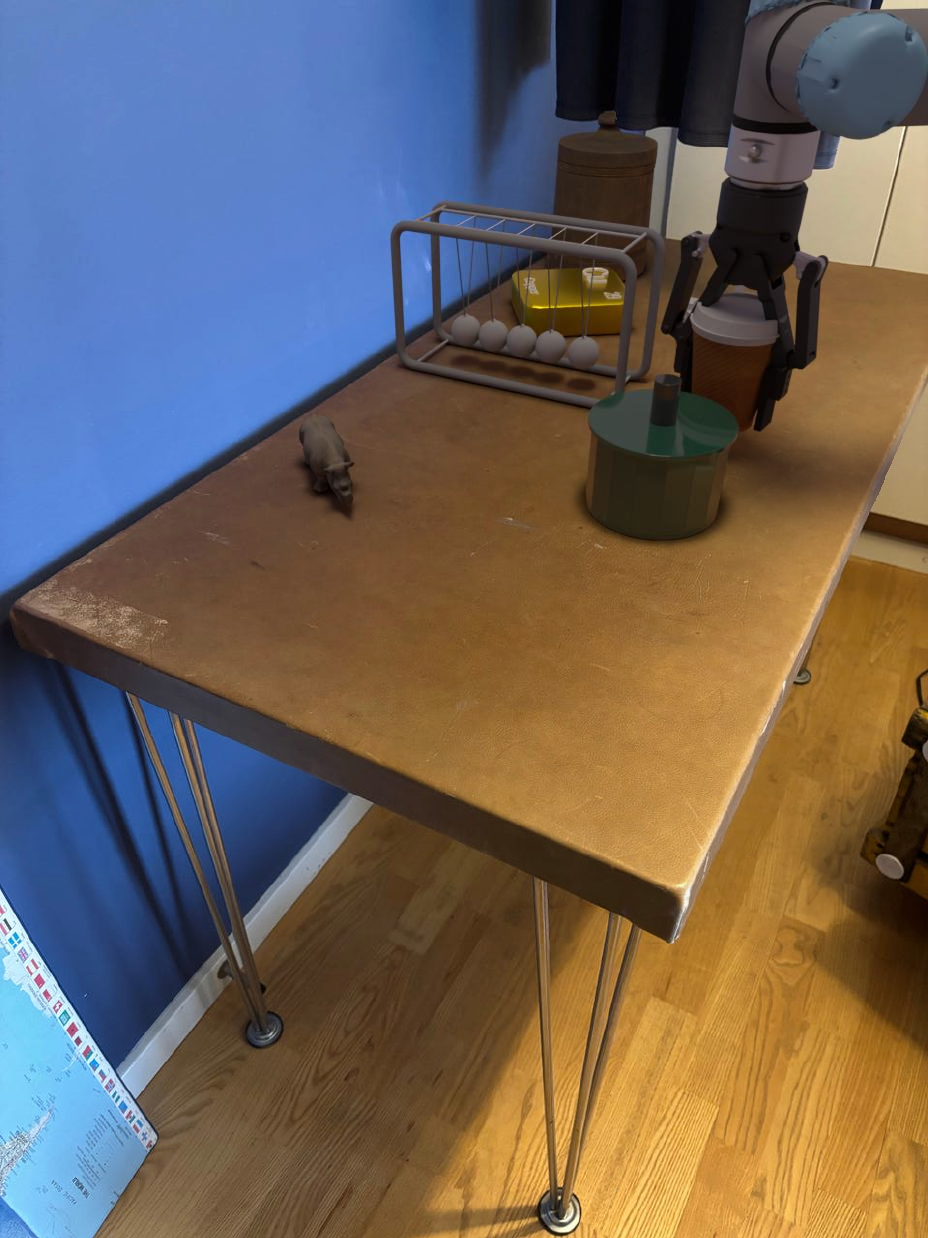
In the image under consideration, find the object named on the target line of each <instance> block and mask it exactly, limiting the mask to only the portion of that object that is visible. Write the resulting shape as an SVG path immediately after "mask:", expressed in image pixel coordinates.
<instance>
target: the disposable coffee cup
mask: <svg viewBox="0 0 928 1238" xmlns="http://www.w3.org/2000/svg"><path fill="white" fill-rule="evenodd" d="M746 292H747V291H746ZM746 292H733V291H725V292H724V293H723V295H722V296H721V298H720V299H719V301H717V302H716V303H714V304H712V305H711V306H709V307H704V306H701V303H702V302H698V303H697V306H696V308H695V311H694V313H691V316H690V321H691V323H692V328H693V332H694V333H693V364H692V367H693V369H692V394H695V395H698V396H701V397H705V398H707V399H710V400H712V401H714V402H716V403H718V404H720V405H721V406H723V407H725V408H726V409H727V410H728V411H730V412H731V413H732V414H733V416H734V417H735V418H736V420H737V423H738V427H739V430H738V434H740V433H743V432H746V431H748V430H749V429H750V428H751V427H752V426H753V424H754V421H755V418H756V413H757V408H758V404H759V399H760V394H761V389H762V385H763V380H764V375H765V370H766V369H767V368H768V367H769V366H770V365H772V364H773V363H774V360H773V355H772V351H771V348H772V345H773V343H775V341H776V338H777V337H779V336H780V335H779V334H777V332H778V321H777V320H768V321H765V316H764V311H763V306H762V303H761V302H760V301H759V299H758V294H757V293H755V292H750V293H746ZM754 293H755V294H754ZM786 319H787V315H785V316H784V317H782V318H781V319H780V320H779V321H780V322H781V323H784V322H785V321H786ZM787 331H788V330H787ZM787 331H785V332H787ZM785 332H784V333H785Z"/></svg>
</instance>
